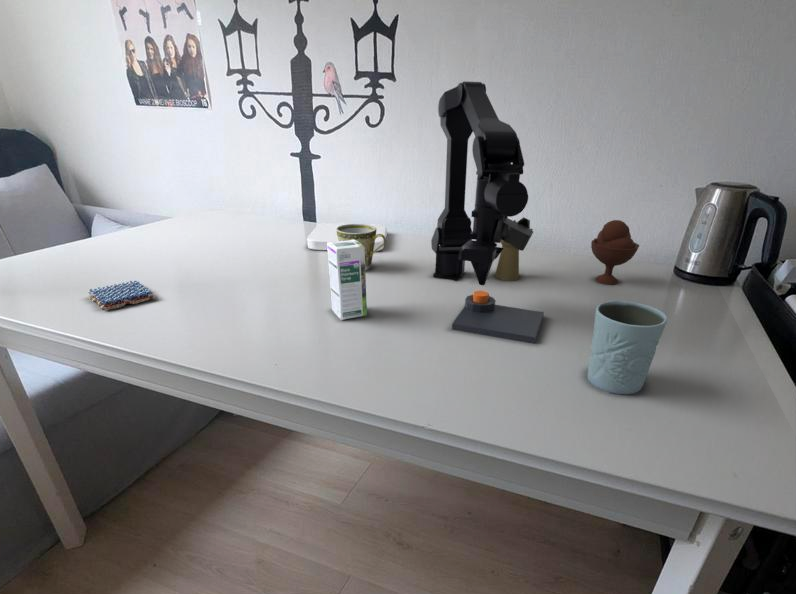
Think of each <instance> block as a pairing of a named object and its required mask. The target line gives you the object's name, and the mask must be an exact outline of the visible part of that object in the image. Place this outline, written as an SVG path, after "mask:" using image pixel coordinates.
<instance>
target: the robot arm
mask: <svg viewBox="0 0 796 594" xmlns="http://www.w3.org/2000/svg"><path fill="white" fill-rule="evenodd" d="M437 113H438V117H439V119H440V120H439V121H440V128H441V130H442V132H443V133H444V135H445V136H444V137H445V138H446V162H445V163H446V164H445V167H446V168H445V169H446V170H445V187H444V188H445V189H444V190H445V191H444V192H445V193H444V194H445V195H444V209H443V210H442V212H441V213H440V214H439V216H438V218H437V225H436V227H435V230H434V231H433V235H432V238H431V240H430V242H431V244H430V245H431V250H432V251H433V252H434V253H435V268H434V270H435V271H434V272H433V274H432V277H434V278H440V279H441V278H442V279H447V280H455V281H457V280H459V279H460V278H461V277H462V276H463V275H464V274H465V267H466V262H470V263H471V265H472V268H473V271H474V274H475V277H476V279H477V282H478V285H479V286H485V285H486V283H487V280H488V277H489V273H490V271H491V269H492V265H493V263H494V261H495V260H496V259H498V258H499V257H500V253H501V252H502V250H503V249H504V248H502V246H500V247H499V246H498V244H501V239H502V240H503V241H504V242H505V243H509V244H511V245H513V246H515V247H516V249H518V250H519V251H524V250H525V249H526V247H527V246H528V243H529V241H530V239H531V238H532V237H533V234H534V231H533V230H534V229H533V228H531V220H530V219H528V218H526V217H525V216H523V217H522V218H521V219H519V220H518V221H517V220H516V219H513V220H512V219H510V218H512V217H515V216H518V215H519V214H521V213H522V212H523V211H524V210H525V209H526V206H527V204H528V201H529V194H528V193H529V192H528V189H527V186H526V185H525V184H524V183H522V182H521V181H520V178H521V175H523V174H524V166H525V160H524V155H523V152H522V147H521V143H520V139H519V137H518V134H517V132H516V130H514V128H513V127H512V126H511V125H510V124H509V123H506V122H505V121H502V120H500V119H499V117H498V115H497V113H496V110H495V109H494V106H493V105H492V103H491V101H490V98H489V96H488V94H487V87H486V84H485V83H483V82H482V81H468V80H467V81H465V80H464V81H462V82H459V83H458V85H457V86H455V87H453V88H451V89H449V90H446V91H444V92H443V94H442V95H441V97H439V100H438V106H437ZM472 134H474V139H473V141H472V151H471V152H472V158H473V160H474V164H475V168H476V171H475V174H476V175H477V176H476V188H475V197H474V209H473V210H471V217H469V215H468V214H467V212H466V210H465V208H466V207H465V205H466V188H467V169H468V168H467V167H468V150H469V139H470V138H471V136H472ZM509 217H510V218H509ZM471 218H473V224H472V220H471Z"/></svg>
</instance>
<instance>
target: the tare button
mask: <svg viewBox="0 0 796 594" xmlns="http://www.w3.org/2000/svg"><path fill="white" fill-rule="evenodd" d="M472 295H473V301H474V302H477V303H487V302H488V298H489V296H490V293H489V292H488V291H485V290H475V291H473V294H472Z"/></svg>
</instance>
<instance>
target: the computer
mask: <svg viewBox="0 0 796 594" xmlns="http://www.w3.org/2000/svg"><path fill="white" fill-rule="evenodd" d="M347 224H348V223H340V222H324V223H319V224H317V225H316V226H315V227H314V228H313V230H312V231H311V233H310V234H309V235H308V236H307V237H306V242H307V248H308V249H311V250H315V251H327V243H328V242H339V241H338V236H337V231H336V228H337V227H339V226H342V225H347ZM365 224H366V225H371V226H374V227H375V228H376V235H377V234H382V235H384V237H385V239H386V240H387V235H388V226H387V225H384V224H379V223H377V224H375V223H365ZM383 243H384V239H383V238H382V237H380V236H379V237H377V238H376V239H375V244H374V250H373V251H375V250H376V249H377V248H378V247H379V246H381V245H382V244H383ZM384 248H385V244H384V245H383V246H382V247H381V248H379V249H378V250H377V251H376V252H379V251H382V250H384Z"/></svg>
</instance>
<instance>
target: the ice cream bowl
mask: <svg viewBox="0 0 796 594" xmlns="http://www.w3.org/2000/svg"><path fill="white" fill-rule="evenodd" d="M590 242H591V246H590V249H591V252H592V254H593V256H594V257H595V259H597V260H598V261H599V262H600V263H601V264H603V265H605V270H604V273H602V274H599V275H597V276H596V277H595V279H594V281H596V282H597V283H599V284H602V285H609V286H612V285H617V284H618V283H619V280H618V279H617V277H616V276H614V275H613V270H614V268H615V267H616V266H621V265H624V264H626V263H627V262H629V261H630V260H631V259H633V257H634V256H635V255H636V253H637V252H638V249H639V247H640V244H638V243H636V242H635V241H634V239H633V238H632V235H631V232H630V227H629V225H627V224H626V222H625V221H623V220H621V219H613V220H610V221H608V222H606V223H605V224H603V227H602V229H601V230H600V231H599V232H598V234H597V237H596V238H595V237H594V238H593V240H591V241H590Z"/></svg>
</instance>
